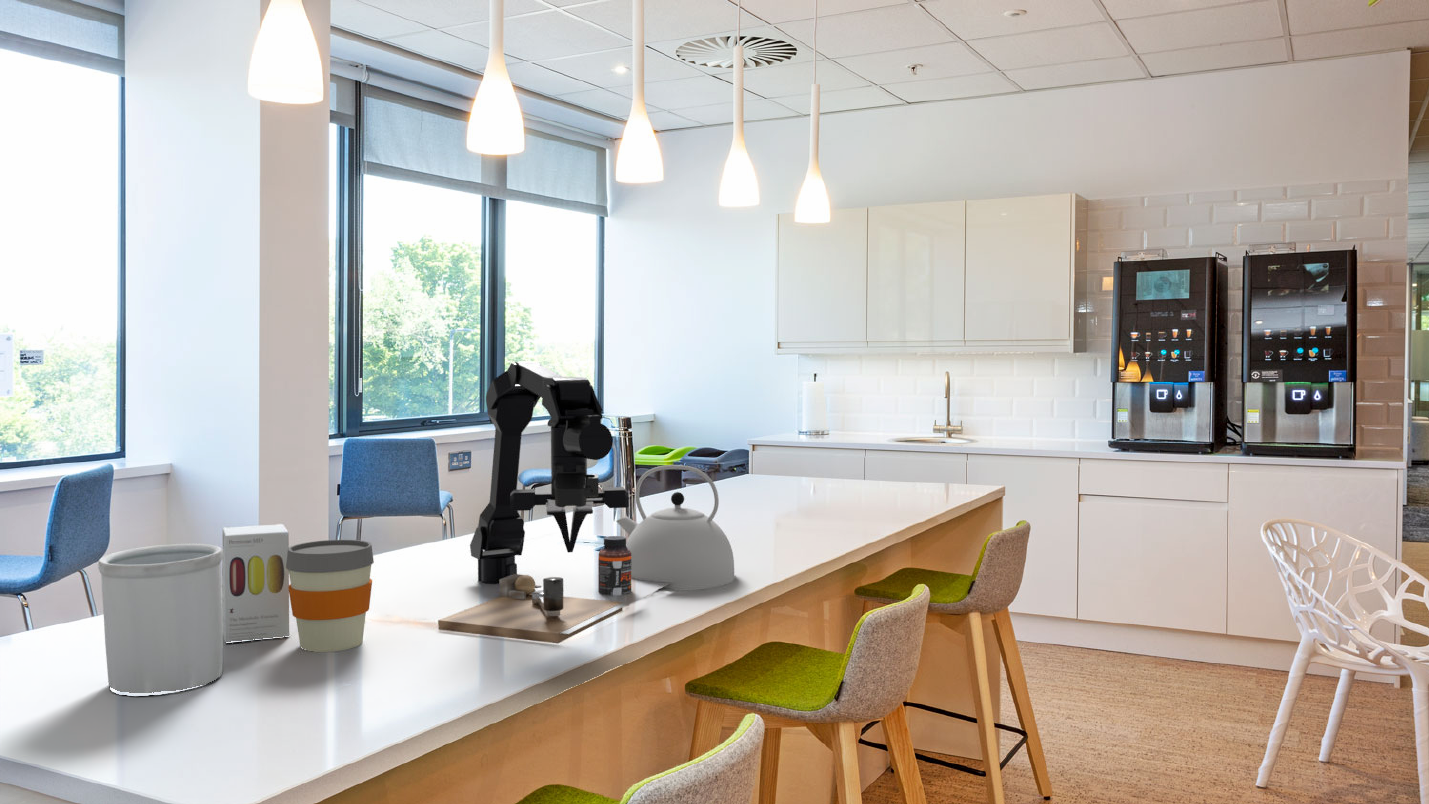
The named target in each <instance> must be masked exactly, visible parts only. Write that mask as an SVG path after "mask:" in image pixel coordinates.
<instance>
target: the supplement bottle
mask: <svg viewBox="0 0 1429 804" xmlns="http://www.w3.org/2000/svg"><path fill="white" fill-rule="evenodd" d="M626 542H627V537H625V536H620V535H610V536H605V537H604V538H603V547H602V548H601V549H599V551H598V558H597V559H598V564H597V565H598V576H597V577H598V578H597V579H598V581H597V582H598V584H597V586H598V589H597V590H598V594H601V595H605V596H622V595H623V596H624V595H628V594H630V593H631V592H632V578H631V551H630V550H629V549H628V548H627V547H626Z"/></svg>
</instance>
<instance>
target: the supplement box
mask: <svg viewBox="0 0 1429 804" xmlns="http://www.w3.org/2000/svg"><path fill="white" fill-rule="evenodd" d="M289 535H290V534H289V531H288V530H287V528H286V526H285V525H284V523H276V524H264V525H263V524H261V525H248V526H247V525H246V526H232V527H231V526H226V527H222V560H221V561H222V563H221V589H222V623H223V641H224V643H225V642H231V641H242V640H253V639H254V640H255V639H263V638H273V637H283V636H284V637H285V636H289V635H290V595H289V588H288V587H289V585H290V575H289V570H288V569H287V568H286V563H287V553H288V548H289V546H290V543H289V542H290V541H289V540H290V539H289ZM289 637H290V636H289Z"/></svg>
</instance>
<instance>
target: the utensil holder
mask: <svg viewBox="0 0 1429 804" xmlns="http://www.w3.org/2000/svg"><path fill="white" fill-rule="evenodd" d="M222 554H223V548H221V547H220V546H218V545H214V544H207V543H174V544H160V545H150V546H149V545H148V546H143V547H137V548H131V549H130V548H129V549H125V550H120V551H116V552H113V553H110V554H106V555H103V556H102V557H101V558H99V559H98V564H97V565H98V566H97V567H98V568H97V569H98V571H99V572H100V576H101V595H102V610H103V611H102V612H103V623H104V624H103V625H104V645H105V655H106V656H105V658H106V670H107V680H108V681H107V682H108V687H109V686H110V687H111V688H113V689H115V690H117V691H120V692H129V693H152V692H153V693H154V692H161V691H176V690H183V689H187V688H192V687H196V686H200V685H204V686H206V685H205V684H207V683H209V682H211V683H213V682H215V681H217V680H218V679H219V678H220V677H221V676H222V674H223V666H224V663H223V651H224V647H223V644H224V642H223V641H224V636H223V623H222V564H221V561H222ZM218 677H219V678H218ZM217 678H218V679H217ZM216 679H217V680H216ZM214 680H215V681H214ZM212 681H213V682H212ZM209 684H210V683H209ZM207 685H208V684H207Z"/></svg>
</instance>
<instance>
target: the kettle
mask: <svg viewBox="0 0 1429 804" xmlns="http://www.w3.org/2000/svg"><path fill="white" fill-rule="evenodd" d="M664 470H684V471H690V472H692V473H696V474H698V475H699V476H701V477H702V479H705V481H707V483H708V484H709V485H710V488H711V489H712V493H713V496H714V505H713V509H712V511H711V513H710V515H709V516H707V515H705V514H704V513H703V512H701V511H699V510H695V509H692V508H689V507H682V504H683V503H684V501H685V497H684V495H683V493H681V492H679V491H676V492H674V493H673V494H671V497H670V501H671V503H672V505H674V507H668V508H664V509H660V510H657V511H655V512H653V513H651V514H650V515H649V516H647V514H645V511H644V509H643V506H642V503H641V500H640V490H641V486H642V484H643V481H644V480H645V479H646V478H647V477H648V476H649V475H651V474H653V473H656V472H659V471H664ZM718 493H719V492H718V490H717V487H716V485H715V483H714V481H713V480H712V479H711V478H710V476H709V475H708V474H706V473H705V472H703V471H702V470H701V469H699V468H695V467H693V466H689V465H681V464H668V465H661V466H656V467H653V468H650V469H649V470H647V471H645V472H644V473H643V474H642V475H641V476H640V478H639V479H638V481H637V483H636V487H635V493H634V494H635V503H636V506H637V509H638V512H639V514H640V516H641V518H642V520H641V522H639V523H638V522H636V521H635V520H633V519H631V518H629V517H628V516H627V515H626V516H623V517H621V518H619V519H617V520H615V521H616V523H617V524H618V525H619V526H620V527H621V528H622V530H624V532H626V533H627V534H628V535H629V536H628V538H627V539H626V547H627V548H628V549H629V550H630V551H631V579H634V580H640V581H647V582H655V583H668V584H666V585H664V586H662V587H660V588H658V589H657V590H659V591H693V590H695V591H697V590H703V589H705V590H706V589H712V588H718V587H721V586H725V585H724V584H726V585H728V584H730V583H732V582H734V581H735V579H736V575H735V560H734V553H733V549H732V545H731V542H730V541H729V538H728V537H727V535H726V533H725V532H724V530H723V529H722V528H721V527H720V526H719V525H718V524H717V523H716V522H715V521H714V517H715V516H716V515H717V512H718V509H719V504H720V503H719V494H718Z"/></svg>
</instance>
